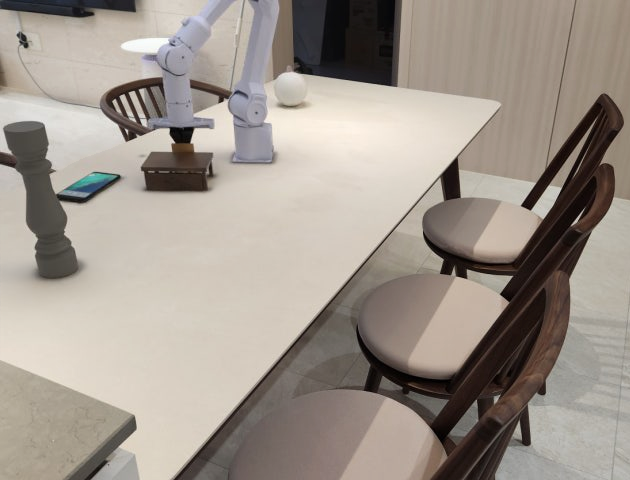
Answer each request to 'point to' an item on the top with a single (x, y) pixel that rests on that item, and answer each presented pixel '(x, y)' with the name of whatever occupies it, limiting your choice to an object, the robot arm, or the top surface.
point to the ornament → (290, 88)
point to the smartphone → (88, 186)
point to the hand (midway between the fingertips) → (186, 158)
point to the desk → (177, 164)
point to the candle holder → (41, 199)
